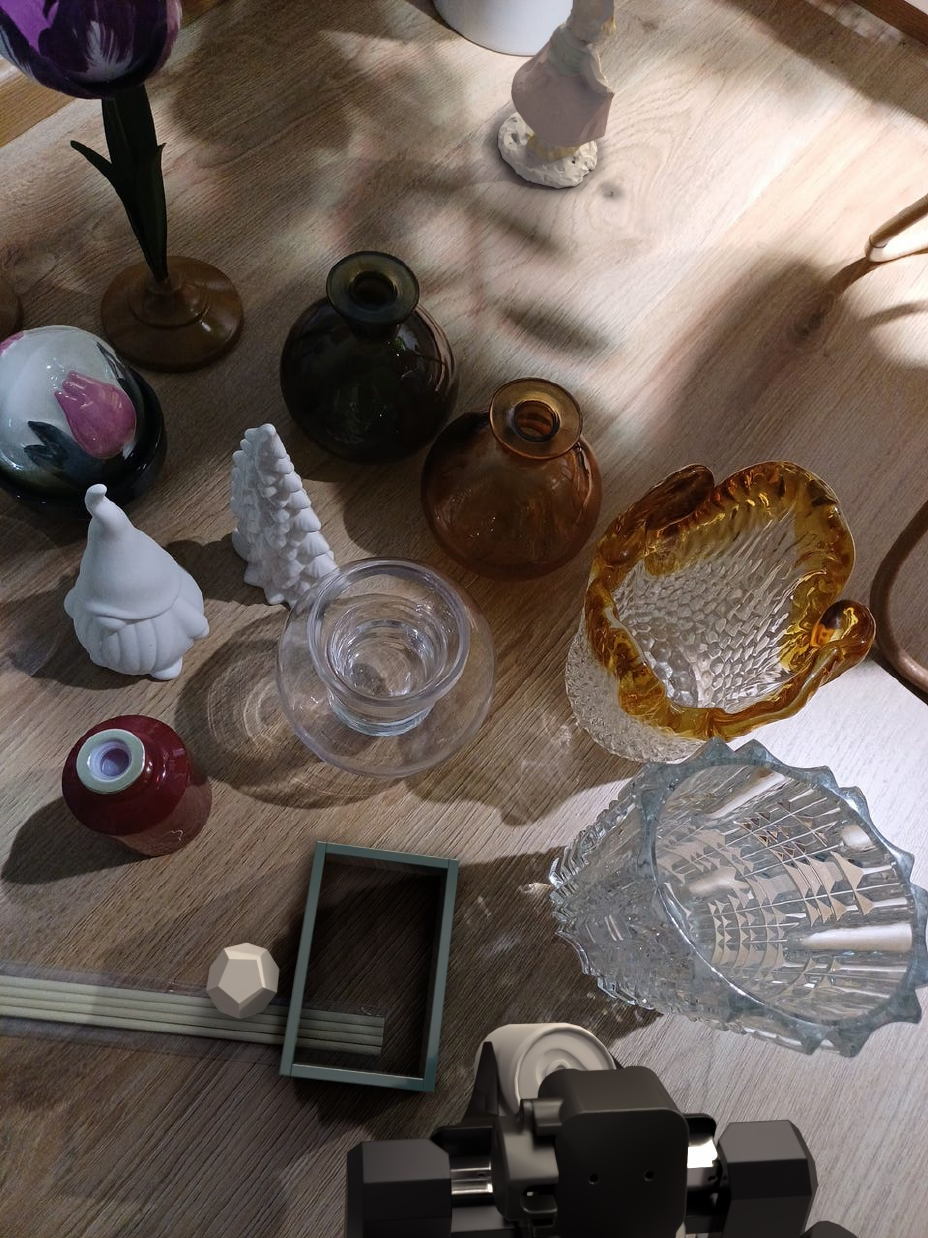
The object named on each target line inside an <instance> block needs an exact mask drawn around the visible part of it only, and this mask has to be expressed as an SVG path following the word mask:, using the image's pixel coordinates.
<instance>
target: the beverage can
mask: <svg viewBox="0 0 928 1238" xmlns="http://www.w3.org/2000/svg"><path fill="white" fill-rule="evenodd" d="M597 1038H598V1037H596V1036H595V1035H594V1033H592V1032H590V1031H589V1030H587V1029H585V1028H583V1027H581V1026H579V1025H575V1024H573V1023H572V1024H571V1023H568V1022H545V1023H513V1024H512V1023H509V1024H506V1025H503V1026H500V1027H498V1028H496V1029H495V1030H493V1031H492V1032H490V1033H488V1034H487V1035H486V1036H485V1038H484V1039H483V1041H481V1042H480V1045H479V1047H478V1049H477V1051H476V1054H475V1058H474V1063H473V1081H474V1082H475V1078H476V1074H477V1069H478V1065H479V1060H480V1055H481V1051H482V1046H483V1042H485V1041H491V1042H492V1044H493V1048H494V1052H495V1056H496V1060H497V1077H498V1100H499V1116H512V1115H514V1114H516V1113H517V1112H518V1111H519V1105H520V1099H524V1098H528V1099H530V1098H537V1096H538V1090H539V1086H540V1084H541V1082H542V1081H543V1080H544V1078H545V1077H546V1076H547V1075H549V1074H550V1073H552V1072H554V1071H556V1070H559V1069H568V1068H575V1069H578V1070H583V1071H585V1070H608V1069H616V1067H615V1064H614V1061H613V1059H612V1057H611V1055H610V1054H609V1052H610V1051H609V1049H608V1048H607V1047H606V1046H605V1045H604V1043H602V1041H601V1040H600V1039H599V1038H598V1039H599V1040H600V1041H601V1042H600V1041H599V1040H598V1039H597ZM606 1048H607V1049H608V1050H607V1049H606ZM608 1051H609V1052H608Z"/></svg>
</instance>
